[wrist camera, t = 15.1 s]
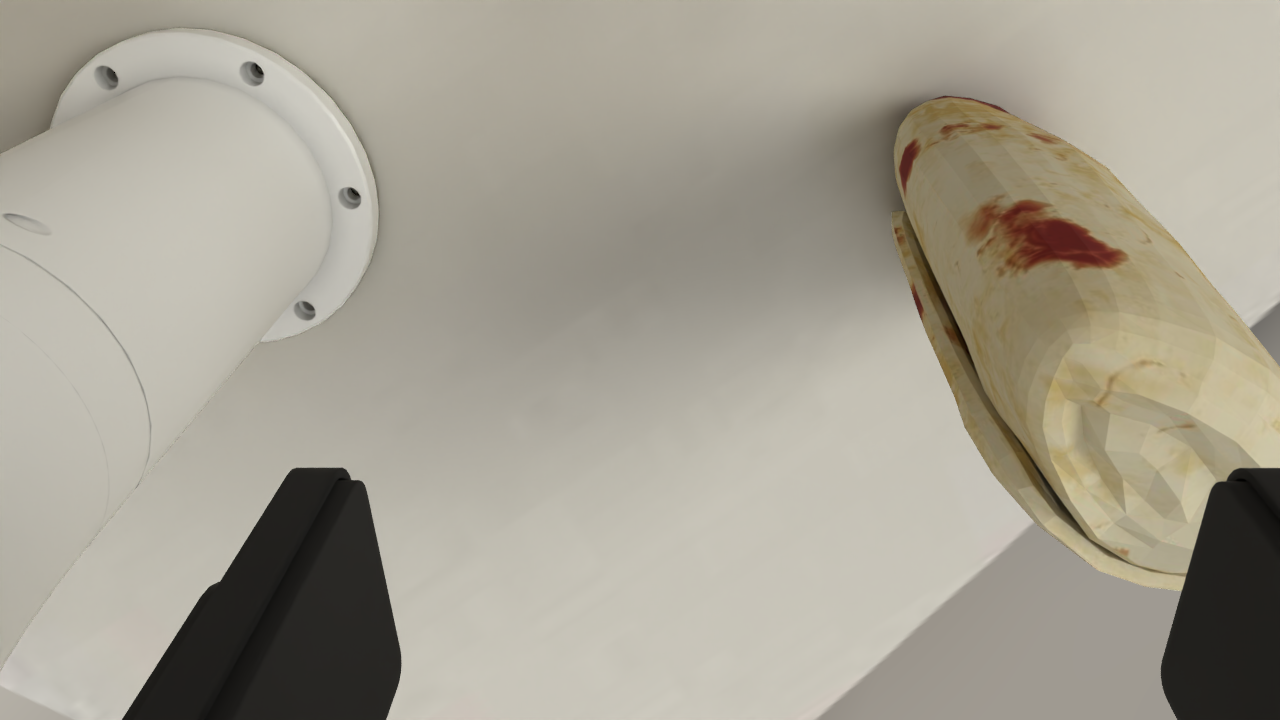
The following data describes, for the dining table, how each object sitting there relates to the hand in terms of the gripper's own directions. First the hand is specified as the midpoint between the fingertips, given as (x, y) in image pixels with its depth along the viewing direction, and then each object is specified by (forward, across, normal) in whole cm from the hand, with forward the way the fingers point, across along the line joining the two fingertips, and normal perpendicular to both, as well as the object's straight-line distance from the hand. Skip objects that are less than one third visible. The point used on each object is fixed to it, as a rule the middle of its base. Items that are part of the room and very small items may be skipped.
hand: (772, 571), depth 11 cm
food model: (+28, -9, +5) cm, 30 cm away
